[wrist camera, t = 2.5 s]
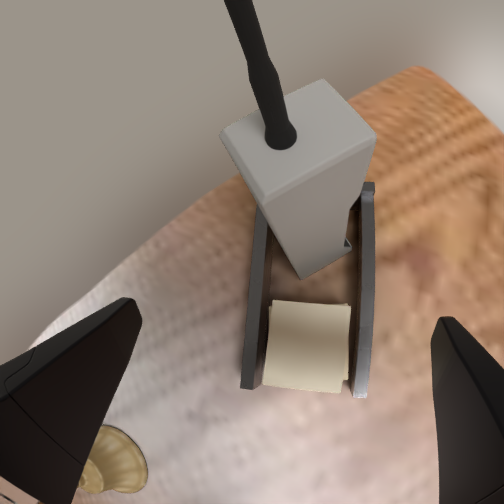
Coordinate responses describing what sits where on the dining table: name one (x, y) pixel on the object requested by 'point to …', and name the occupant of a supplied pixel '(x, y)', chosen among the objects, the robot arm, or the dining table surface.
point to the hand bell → (113, 464)
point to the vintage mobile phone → (298, 154)
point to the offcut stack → (307, 346)
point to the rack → (261, 287)
